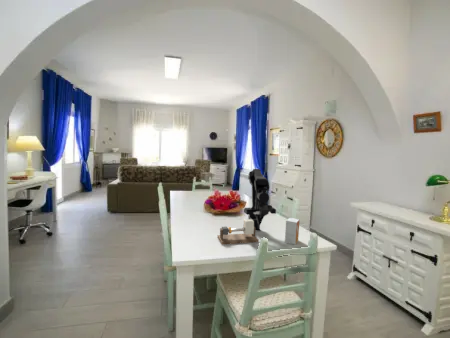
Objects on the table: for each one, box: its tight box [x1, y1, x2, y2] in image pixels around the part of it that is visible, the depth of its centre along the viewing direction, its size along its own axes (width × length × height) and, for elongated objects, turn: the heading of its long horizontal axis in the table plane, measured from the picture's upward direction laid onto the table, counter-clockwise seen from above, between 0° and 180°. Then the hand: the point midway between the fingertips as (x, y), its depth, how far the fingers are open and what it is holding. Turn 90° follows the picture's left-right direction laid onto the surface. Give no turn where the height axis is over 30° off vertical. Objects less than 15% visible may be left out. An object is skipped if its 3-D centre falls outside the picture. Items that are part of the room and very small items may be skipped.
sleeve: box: [242, 218, 254, 234], centre depth 142 cm, size 5×4×8 cm
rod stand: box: [216, 226, 260, 246], centre depth 140 cm, size 22×11×8 cm, turn 105°
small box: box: [284, 217, 300, 245], centre depth 140 cm, size 8×6×13 cm
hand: (259, 224), depth 143 cm, fingers closed
